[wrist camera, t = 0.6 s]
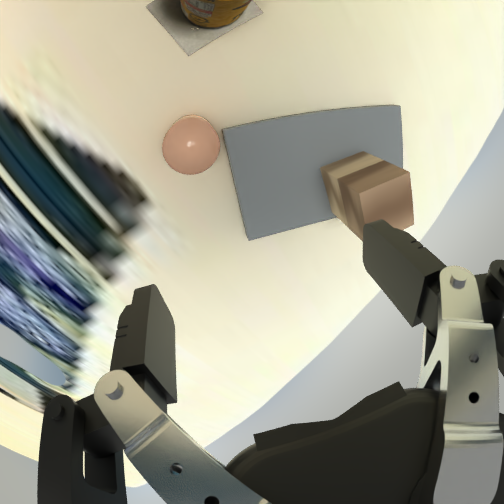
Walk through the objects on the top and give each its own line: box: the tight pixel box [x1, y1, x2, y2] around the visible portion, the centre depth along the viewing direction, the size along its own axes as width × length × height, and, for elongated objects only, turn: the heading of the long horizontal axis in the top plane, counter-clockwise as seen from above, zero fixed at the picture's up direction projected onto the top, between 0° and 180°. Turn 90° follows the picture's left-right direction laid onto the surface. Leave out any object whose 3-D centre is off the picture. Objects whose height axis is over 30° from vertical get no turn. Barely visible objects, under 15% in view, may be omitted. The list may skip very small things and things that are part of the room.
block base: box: [320, 151, 383, 227], centre depth 28 cm, size 6×6×4 cm
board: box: [222, 105, 403, 241], centre depth 29 cm, size 12×20×1 cm, turn 101°
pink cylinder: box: [162, 115, 220, 175], centre depth 23 cm, size 4×4×6 cm
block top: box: [337, 160, 414, 241], centre depth 25 cm, size 6×6×4 cm
